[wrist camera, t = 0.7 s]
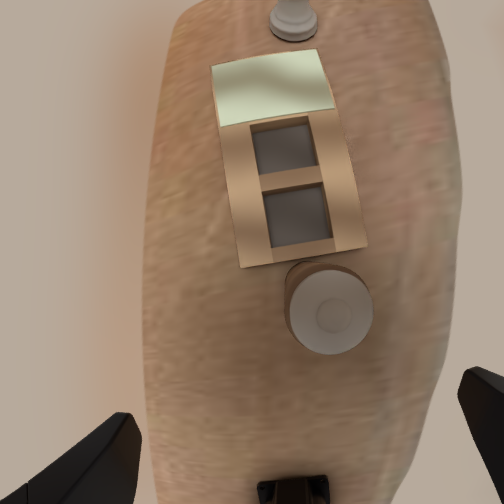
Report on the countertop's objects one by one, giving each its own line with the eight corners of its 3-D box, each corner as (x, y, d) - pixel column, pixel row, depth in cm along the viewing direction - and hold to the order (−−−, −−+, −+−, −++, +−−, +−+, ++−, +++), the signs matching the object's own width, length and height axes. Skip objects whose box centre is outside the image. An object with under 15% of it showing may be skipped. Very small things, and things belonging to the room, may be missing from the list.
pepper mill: (333, 302, 24) (390, 357, 10) (288, 309, 24) (292, 376, 10) (326, 257, 24) (380, 257, 10) (281, 265, 24) (276, 275, 10)
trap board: (361, 247, 23) (368, 246, 21) (244, 267, 24) (239, 268, 22) (315, 60, 24) (317, 46, 22) (214, 77, 25) (208, 64, 23)
